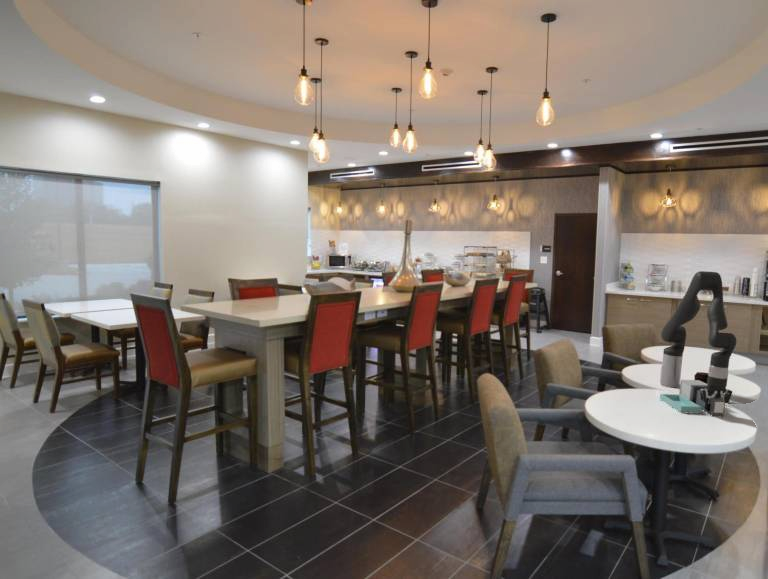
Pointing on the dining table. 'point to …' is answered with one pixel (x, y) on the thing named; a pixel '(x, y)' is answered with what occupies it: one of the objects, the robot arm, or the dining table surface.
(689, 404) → the tray
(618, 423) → the dining table surface
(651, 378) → the dining table surface
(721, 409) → the tall grey pillar
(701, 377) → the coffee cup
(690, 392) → the light grey block
